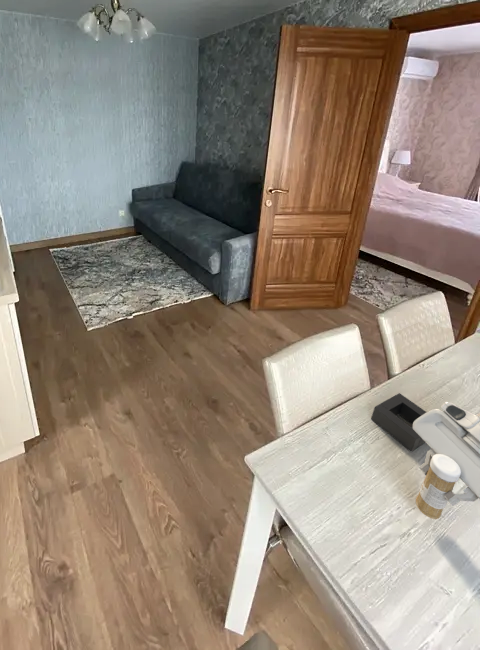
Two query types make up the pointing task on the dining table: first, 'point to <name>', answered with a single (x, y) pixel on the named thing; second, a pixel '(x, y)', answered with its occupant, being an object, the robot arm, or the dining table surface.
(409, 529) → the dining table surface
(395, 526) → the dining table surface
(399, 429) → the socket block
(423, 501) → the sprinkles bottle
